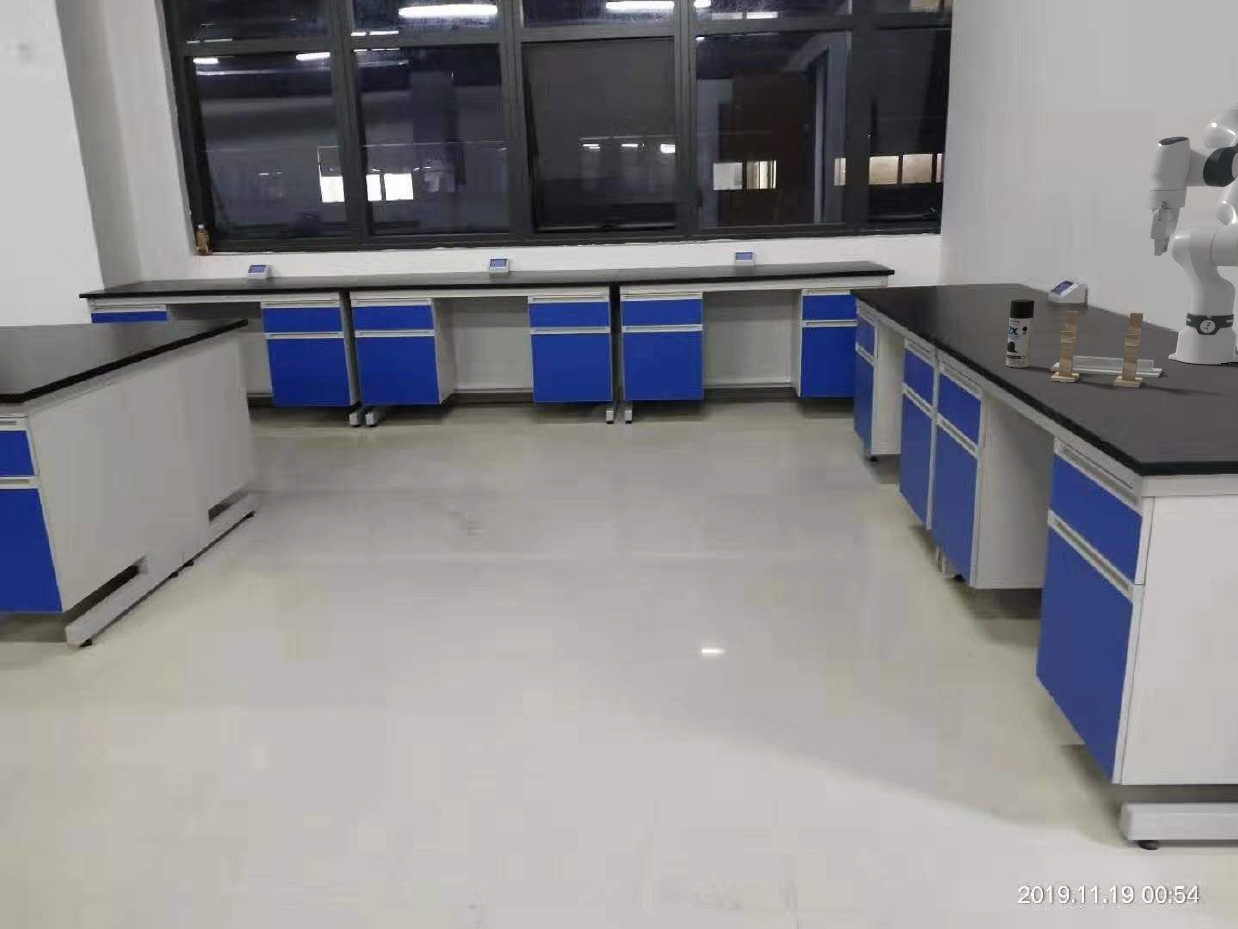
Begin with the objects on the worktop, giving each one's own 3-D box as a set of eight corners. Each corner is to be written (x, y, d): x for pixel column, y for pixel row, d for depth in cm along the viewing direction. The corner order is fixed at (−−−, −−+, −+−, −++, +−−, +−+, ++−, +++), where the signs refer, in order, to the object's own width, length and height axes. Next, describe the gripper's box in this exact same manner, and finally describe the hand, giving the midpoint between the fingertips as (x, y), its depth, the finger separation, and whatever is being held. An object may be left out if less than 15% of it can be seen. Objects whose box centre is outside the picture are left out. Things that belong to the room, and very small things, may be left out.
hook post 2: (1118, 380, 265) (1125, 312, 259) (1142, 381, 261) (1150, 312, 256) (1113, 385, 258) (1120, 316, 253) (1138, 387, 255) (1146, 316, 250)
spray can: (1000, 365, 291) (1005, 300, 285) (1018, 363, 293) (1023, 298, 288) (1016, 369, 285) (1021, 302, 279) (1034, 366, 287) (1039, 300, 282)
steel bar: (1062, 364, 284) (1063, 354, 283) (1152, 370, 271) (1154, 360, 270) (1060, 366, 282) (1061, 356, 281) (1151, 372, 269) (1152, 361, 268)
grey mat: (1057, 364, 288) (1057, 362, 288) (1161, 371, 273) (1162, 368, 273) (1050, 370, 281) (1050, 368, 280) (1157, 377, 265) (1158, 375, 265)
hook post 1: (1056, 376, 273) (1062, 309, 268) (1078, 377, 270) (1085, 310, 265) (1050, 381, 267) (1056, 313, 262) (1073, 382, 264) (1079, 314, 258)
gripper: (1174, 202, 243) (1168, 257, 247) (1184, 198, 259) (1178, 250, 263) (1147, 203, 247) (1141, 257, 251) (1158, 199, 263) (1152, 250, 267)
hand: (1160, 253), depth 257 cm, fingers open, 8 cm apart
